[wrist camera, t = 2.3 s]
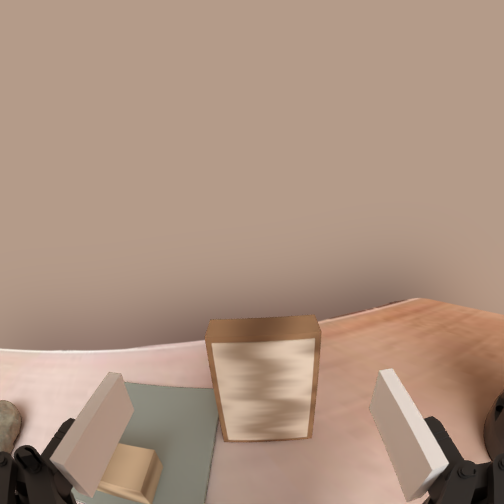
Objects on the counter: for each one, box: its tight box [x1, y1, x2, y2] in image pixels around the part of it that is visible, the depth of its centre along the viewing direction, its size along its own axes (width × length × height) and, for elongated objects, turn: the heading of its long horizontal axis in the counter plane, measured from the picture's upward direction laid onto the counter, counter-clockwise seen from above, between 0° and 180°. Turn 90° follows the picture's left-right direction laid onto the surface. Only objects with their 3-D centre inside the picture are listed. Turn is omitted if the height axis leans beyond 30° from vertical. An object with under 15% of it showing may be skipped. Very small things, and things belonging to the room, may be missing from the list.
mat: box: [71, 382, 219, 504], centre depth 23 cm, size 15×20×1 cm
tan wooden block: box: [96, 443, 163, 504], centre depth 18 cm, size 10×5×3 cm, turn 89°
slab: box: [205, 315, 321, 442], centre depth 24 cm, size 9×3×14 cm, turn 89°
